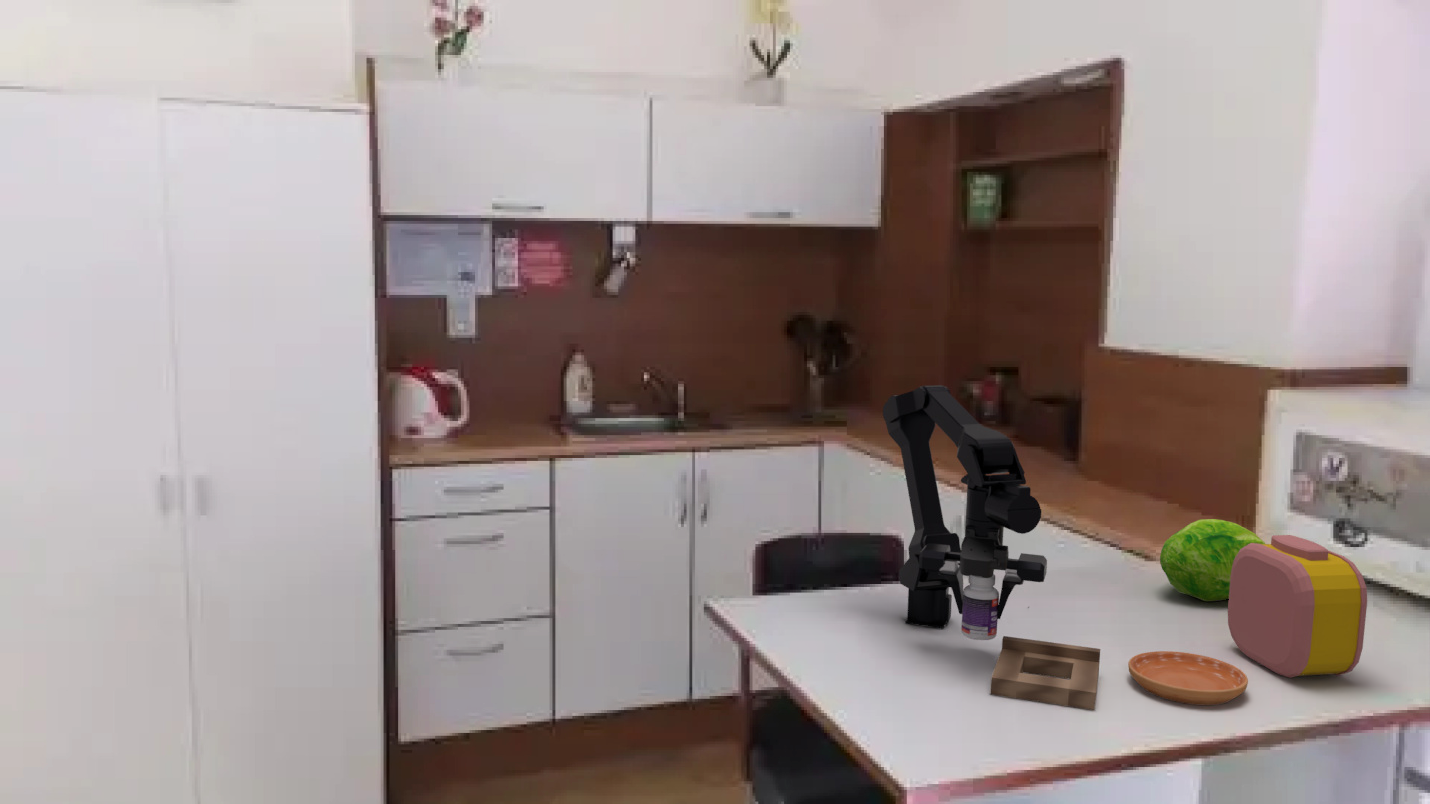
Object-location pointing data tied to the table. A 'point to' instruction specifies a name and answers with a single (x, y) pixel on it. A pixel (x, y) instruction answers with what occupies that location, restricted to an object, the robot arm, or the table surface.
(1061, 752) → the table surface
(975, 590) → the pill bottle
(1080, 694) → the socket
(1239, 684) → the saucer
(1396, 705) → the table surface
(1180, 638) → the table surface
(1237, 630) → the alarm clock
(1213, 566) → the lettuce
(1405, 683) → the table surface
